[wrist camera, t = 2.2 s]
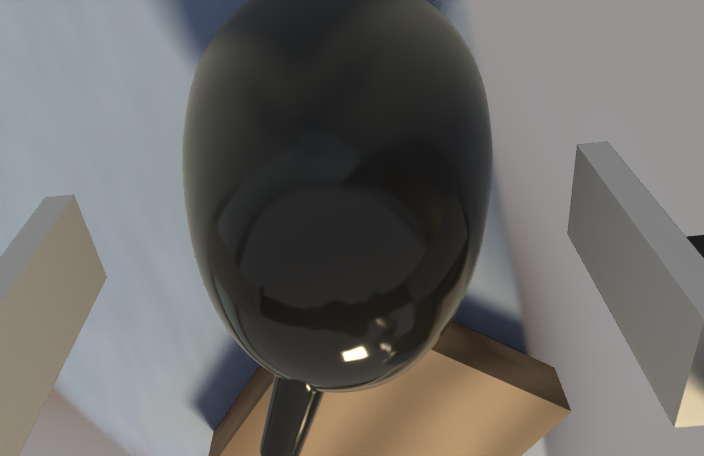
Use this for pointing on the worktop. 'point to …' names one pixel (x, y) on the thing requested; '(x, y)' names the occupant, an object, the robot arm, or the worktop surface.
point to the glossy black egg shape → (335, 191)
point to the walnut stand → (420, 407)
